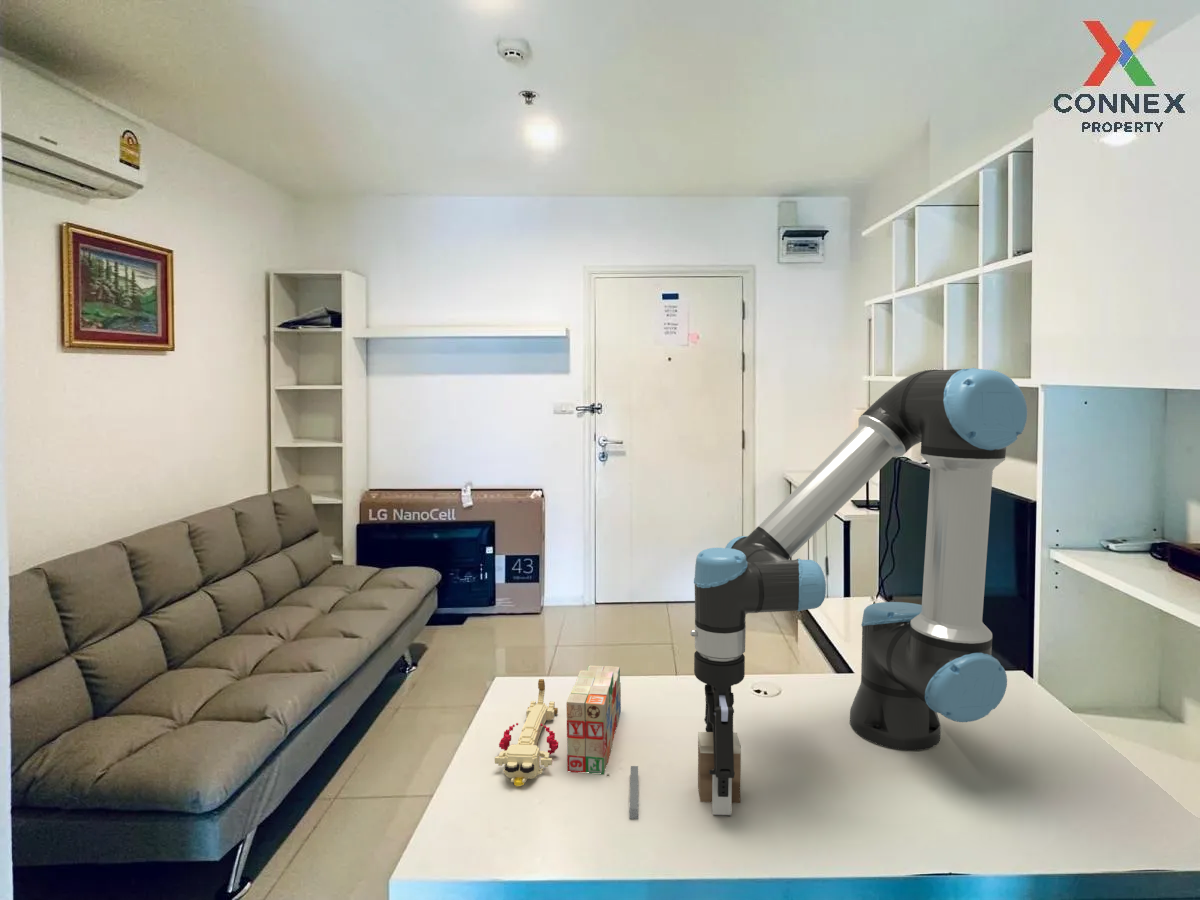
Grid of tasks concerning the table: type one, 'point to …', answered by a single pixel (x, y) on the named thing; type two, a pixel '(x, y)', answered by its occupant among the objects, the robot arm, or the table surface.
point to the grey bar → (634, 792)
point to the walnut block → (708, 764)
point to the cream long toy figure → (528, 743)
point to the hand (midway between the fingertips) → (717, 792)
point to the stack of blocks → (593, 718)
